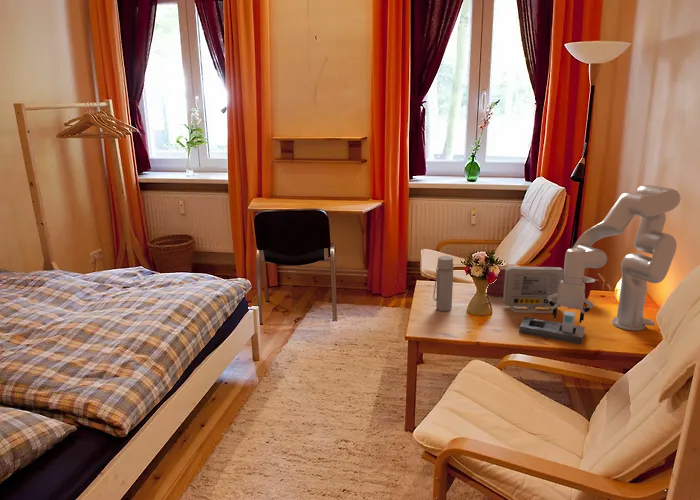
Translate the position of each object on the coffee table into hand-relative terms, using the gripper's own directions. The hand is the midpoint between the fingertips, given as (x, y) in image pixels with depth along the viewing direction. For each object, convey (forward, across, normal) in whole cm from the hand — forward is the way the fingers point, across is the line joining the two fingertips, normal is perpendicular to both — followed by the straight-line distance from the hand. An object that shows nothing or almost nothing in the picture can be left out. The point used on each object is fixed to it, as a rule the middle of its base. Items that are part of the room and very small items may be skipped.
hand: (567, 319), depth 208 cm
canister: (+8, +38, -39) cm, 55 cm away
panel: (+8, +6, 0) cm, 9 cm away
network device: (+8, +18, -24) cm, 31 cm away
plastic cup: (+7, -2, -44) cm, 45 cm away
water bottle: (+9, +54, -5) cm, 55 cm away
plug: (+8, 0, 0) cm, 8 cm away
